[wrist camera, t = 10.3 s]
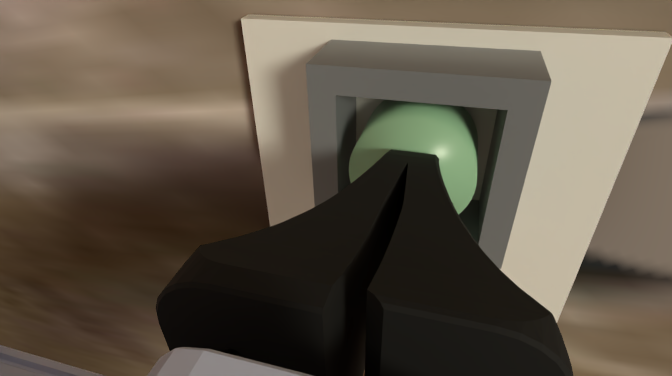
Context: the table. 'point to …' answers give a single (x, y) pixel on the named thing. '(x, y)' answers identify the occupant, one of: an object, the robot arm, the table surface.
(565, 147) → the white flat panel
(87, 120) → the table surface
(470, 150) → the button
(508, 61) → the button housing
